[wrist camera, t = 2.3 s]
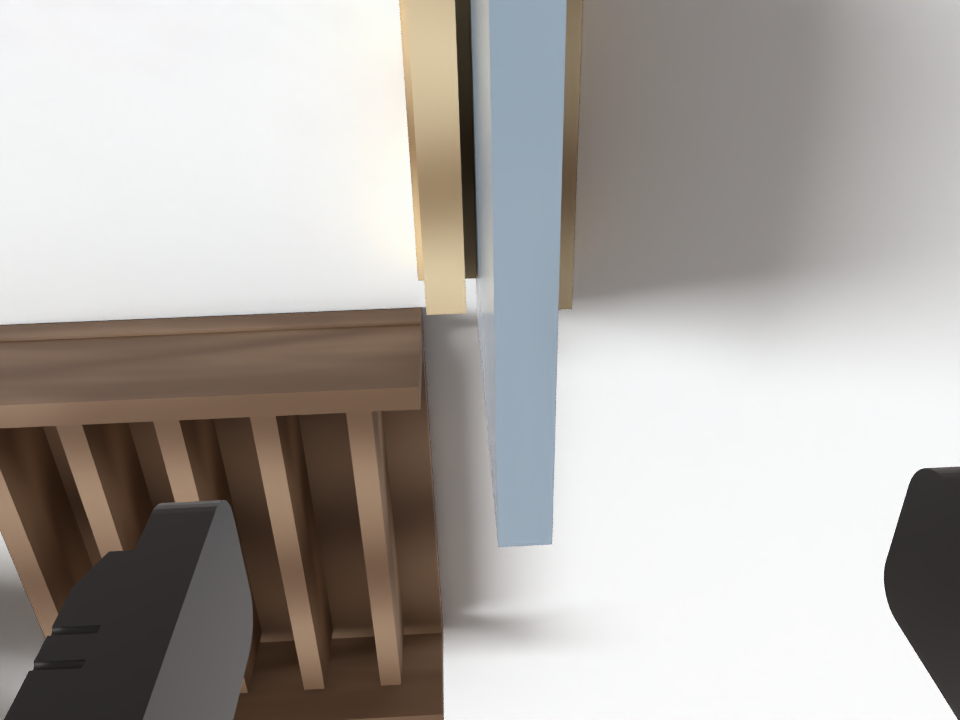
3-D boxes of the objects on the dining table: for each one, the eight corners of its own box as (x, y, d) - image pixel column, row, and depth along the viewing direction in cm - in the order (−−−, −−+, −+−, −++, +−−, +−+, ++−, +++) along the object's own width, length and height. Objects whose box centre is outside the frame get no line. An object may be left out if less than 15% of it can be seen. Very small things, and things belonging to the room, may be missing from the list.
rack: (-47, 327, 28) (-134, 408, 24) (421, 307, 29) (418, 384, 24) (79, 648, 36) (31, 752, 32) (442, 629, 37) (443, 729, 32)
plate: (465, -86, 22) (487, -57, 12) (511, -87, 22) (568, -59, 12) (477, 318, 28) (498, 546, 18) (512, 317, 28) (551, 544, 18)
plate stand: (398, -25, 23) (393, -10, 20) (575, -31, 23) (595, -17, 20) (418, 267, 28) (416, 315, 25) (566, 262, 28) (581, 308, 25)
